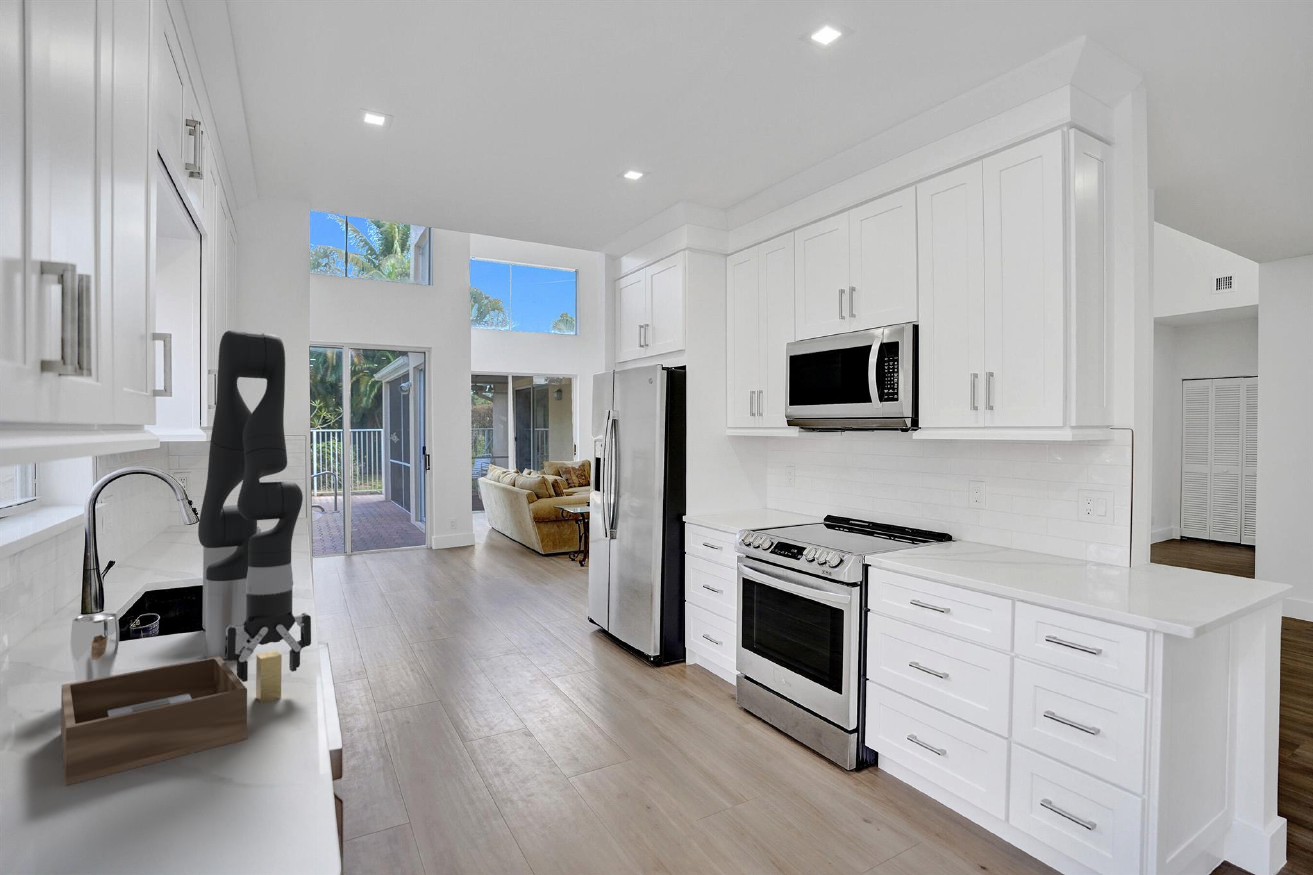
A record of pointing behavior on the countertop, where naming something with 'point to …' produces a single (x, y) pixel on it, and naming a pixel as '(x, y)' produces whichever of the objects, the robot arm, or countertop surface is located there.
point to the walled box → (149, 717)
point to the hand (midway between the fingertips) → (268, 675)
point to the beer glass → (94, 645)
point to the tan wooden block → (268, 676)
